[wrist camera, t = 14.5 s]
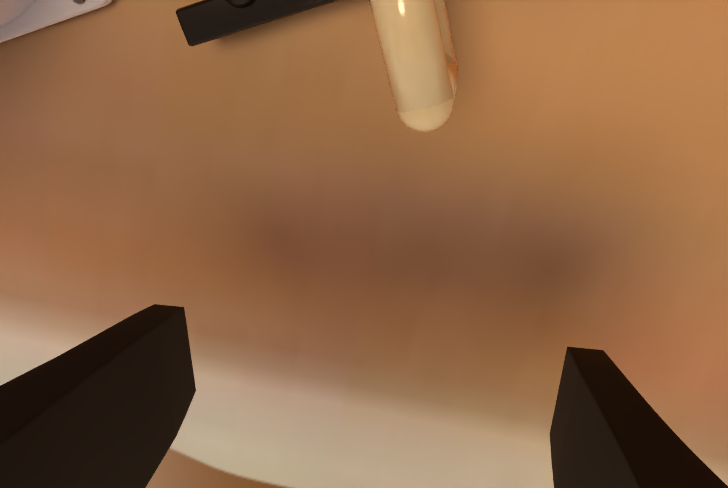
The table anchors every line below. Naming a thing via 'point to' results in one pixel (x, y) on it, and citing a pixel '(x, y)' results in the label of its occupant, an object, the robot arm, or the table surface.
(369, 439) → the table surface
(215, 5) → the rack
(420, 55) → the beige mug
